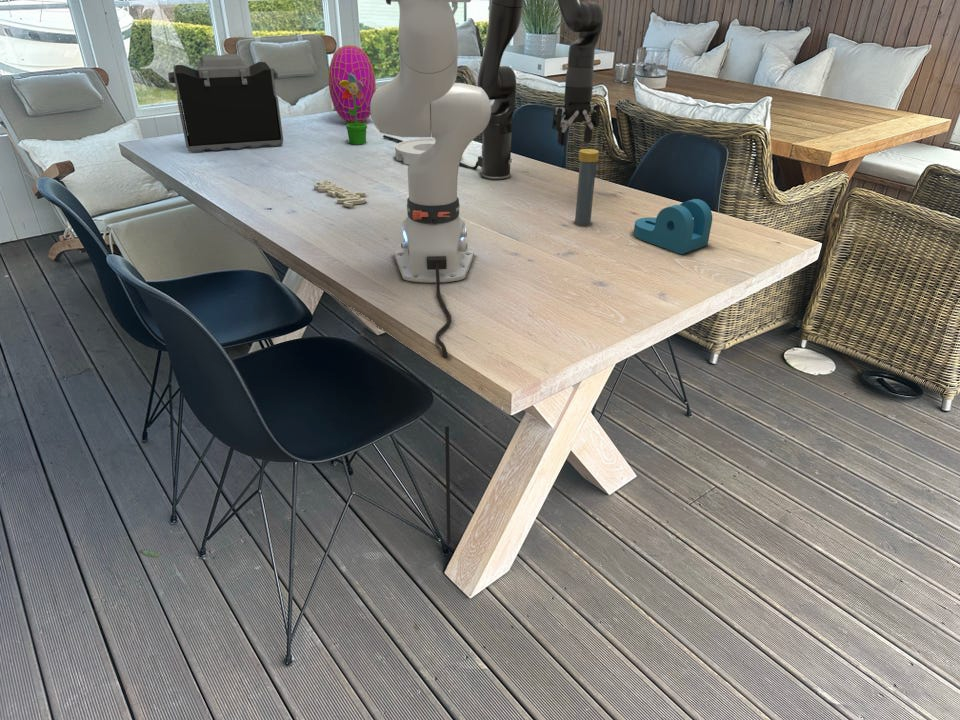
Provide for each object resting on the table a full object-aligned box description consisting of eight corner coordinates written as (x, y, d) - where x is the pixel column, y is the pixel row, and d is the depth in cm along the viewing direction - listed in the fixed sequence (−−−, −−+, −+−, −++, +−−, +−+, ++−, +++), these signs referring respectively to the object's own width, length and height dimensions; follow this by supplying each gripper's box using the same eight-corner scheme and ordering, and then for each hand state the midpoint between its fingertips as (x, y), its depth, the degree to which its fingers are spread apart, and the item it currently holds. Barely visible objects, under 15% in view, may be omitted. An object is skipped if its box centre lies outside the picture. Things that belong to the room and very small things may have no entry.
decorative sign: (378, 198, 199) (347, 205, 194) (378, 202, 199) (348, 208, 194) (336, 178, 217) (306, 183, 211) (336, 181, 217) (307, 186, 212)
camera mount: (707, 244, 172) (715, 204, 167) (681, 254, 167) (689, 212, 161) (650, 225, 184) (656, 186, 179) (624, 233, 179) (629, 194, 173)
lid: (600, 162, 176) (601, 153, 175) (581, 162, 175) (582, 153, 174) (594, 157, 180) (595, 148, 179) (576, 157, 179) (576, 149, 178)
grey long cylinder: (592, 225, 185) (599, 154, 175) (577, 226, 184) (583, 155, 174) (587, 220, 188) (594, 150, 179) (572, 220, 188) (578, 151, 178)
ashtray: (454, 167, 232) (454, 155, 230) (388, 164, 235) (387, 152, 233) (466, 151, 252) (466, 140, 250) (404, 148, 255) (404, 137, 253)
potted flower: (342, 144, 260) (336, 73, 247) (351, 139, 266) (346, 70, 254) (365, 146, 257) (360, 74, 245) (374, 141, 264) (369, 71, 251)
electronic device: (280, 133, 274) (270, 51, 259) (288, 146, 256) (277, 59, 241) (182, 140, 262) (165, 54, 247) (183, 153, 245) (164, 62, 229)
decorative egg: (362, 116, 305) (357, 42, 290) (386, 123, 292) (382, 46, 277) (324, 121, 294) (316, 45, 279) (347, 129, 281) (340, 49, 266)
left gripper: (383, -44, 156) (386, 24, 163) (473, -43, 157) (472, 24, 164) (385, -44, 161) (388, 21, 168) (471, -43, 162) (471, 22, 169)
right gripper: (593, 80, 194) (587, 138, 202) (549, 83, 189) (546, 143, 197) (608, 84, 188) (602, 144, 197) (564, 87, 183) (560, 149, 191)
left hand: (430, 23), depth 166 cm, fingers open, 8 cm apart
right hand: (574, 143), depth 197 cm, fingers open, 8 cm apart
